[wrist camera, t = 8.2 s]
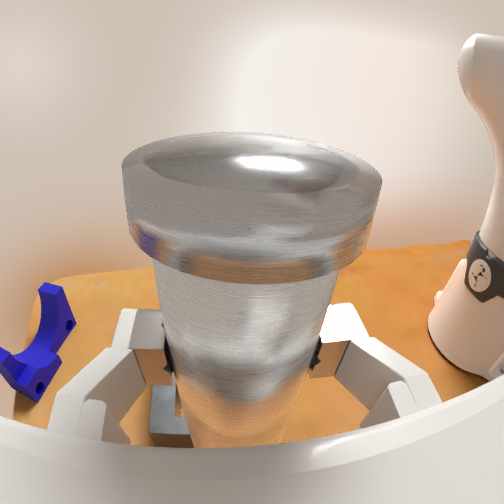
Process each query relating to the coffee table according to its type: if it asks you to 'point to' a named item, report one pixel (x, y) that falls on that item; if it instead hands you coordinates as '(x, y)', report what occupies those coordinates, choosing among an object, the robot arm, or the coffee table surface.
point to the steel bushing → (245, 266)
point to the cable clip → (40, 346)
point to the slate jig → (168, 418)
